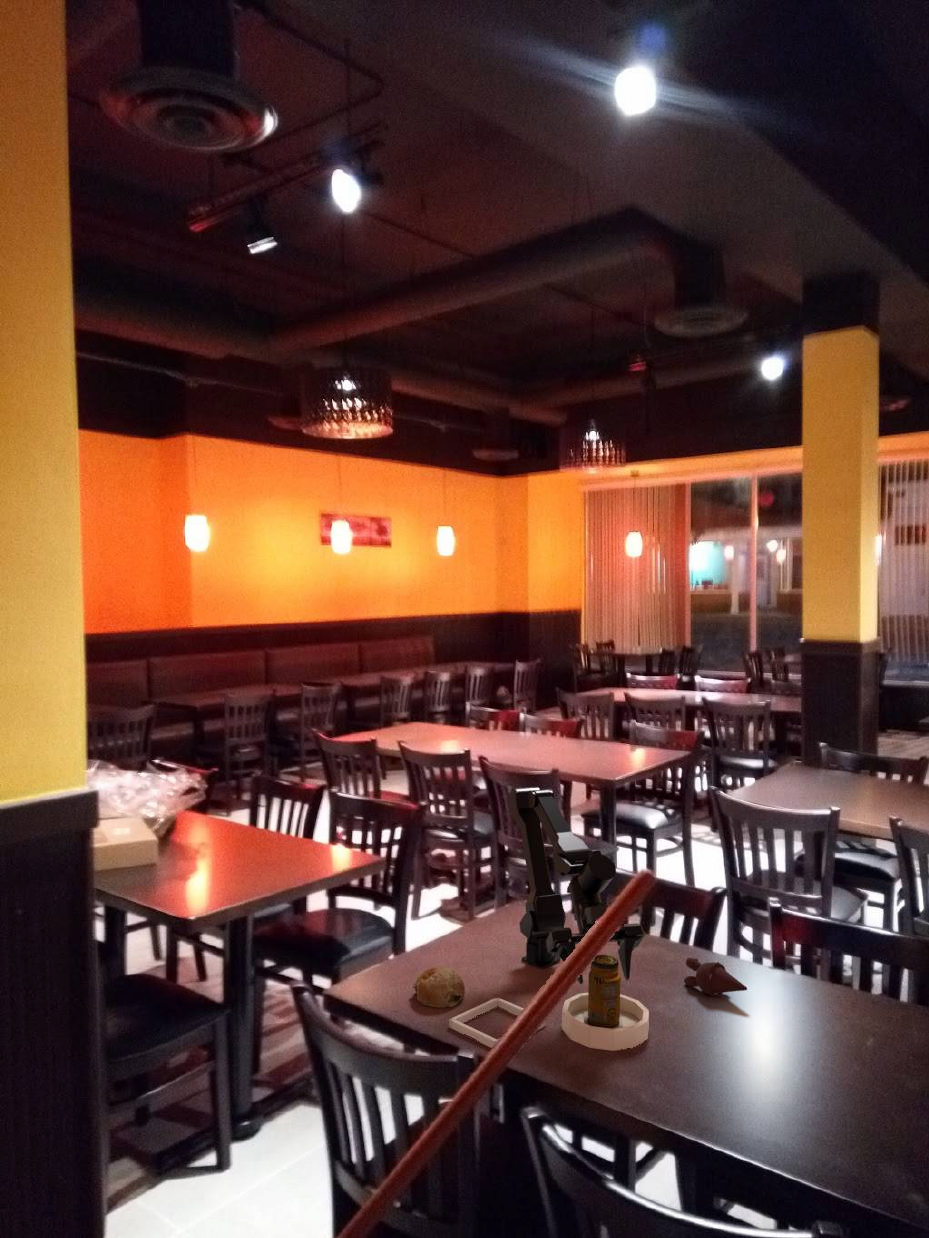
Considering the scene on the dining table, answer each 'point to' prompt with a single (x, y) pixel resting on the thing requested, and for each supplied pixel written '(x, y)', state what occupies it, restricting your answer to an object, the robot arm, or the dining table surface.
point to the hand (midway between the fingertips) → (604, 981)
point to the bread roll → (439, 987)
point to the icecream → (712, 978)
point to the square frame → (458, 1021)
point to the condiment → (604, 994)
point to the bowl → (605, 1038)
